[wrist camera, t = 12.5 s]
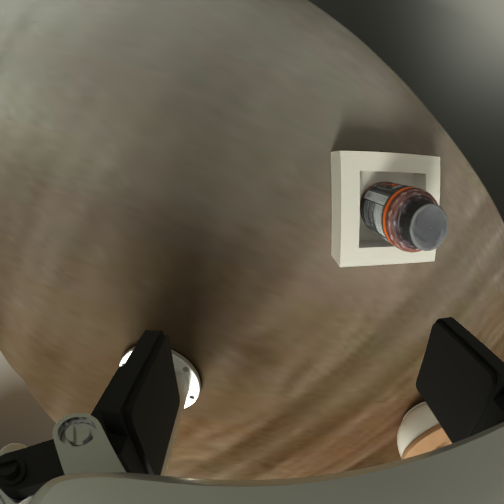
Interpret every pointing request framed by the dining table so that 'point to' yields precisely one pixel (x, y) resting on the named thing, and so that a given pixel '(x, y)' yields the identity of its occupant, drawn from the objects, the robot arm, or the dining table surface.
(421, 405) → the lidded bowl
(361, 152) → the socket
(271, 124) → the dining table surface
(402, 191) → the supplement bottle
